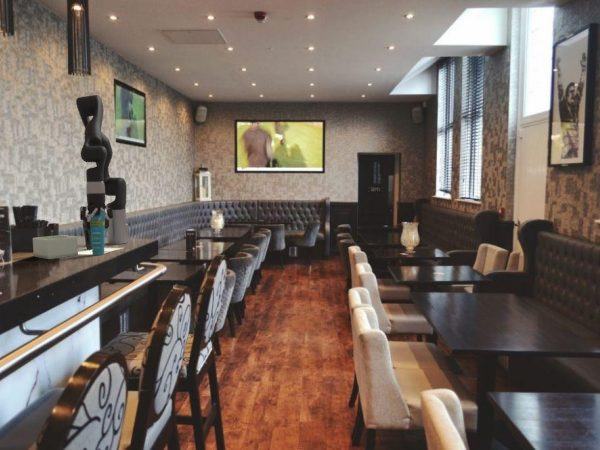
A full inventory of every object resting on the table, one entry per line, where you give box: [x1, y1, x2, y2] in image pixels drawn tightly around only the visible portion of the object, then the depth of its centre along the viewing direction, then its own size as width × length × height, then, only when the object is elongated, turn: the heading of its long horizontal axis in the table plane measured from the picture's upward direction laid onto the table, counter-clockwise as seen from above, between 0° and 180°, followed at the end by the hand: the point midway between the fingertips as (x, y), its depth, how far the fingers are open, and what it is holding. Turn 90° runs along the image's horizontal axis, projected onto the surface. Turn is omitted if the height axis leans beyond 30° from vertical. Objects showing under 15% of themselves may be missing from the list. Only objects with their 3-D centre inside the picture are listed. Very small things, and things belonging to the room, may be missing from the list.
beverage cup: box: [82, 220, 92, 250], centre depth 254 cm, size 7×7×20 cm
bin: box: [32, 234, 79, 260], centre depth 234 cm, size 13×13×8 cm
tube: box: [87, 210, 106, 256], centre depth 236 cm, size 7×5×19 cm, turn 98°
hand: (97, 229), depth 236 cm, fingers open, 8 cm apart
